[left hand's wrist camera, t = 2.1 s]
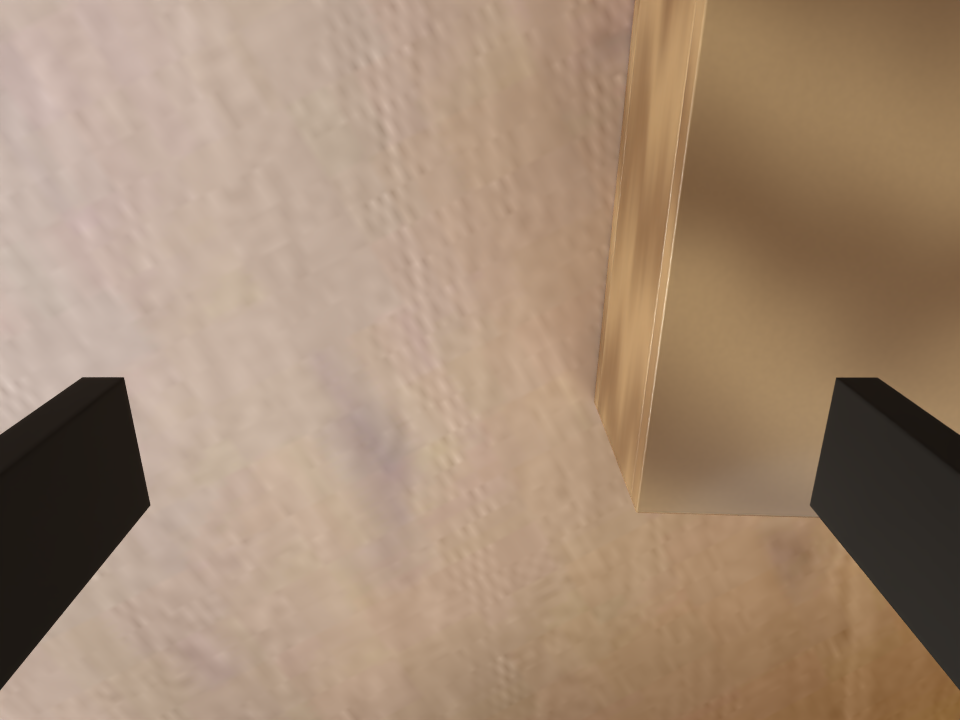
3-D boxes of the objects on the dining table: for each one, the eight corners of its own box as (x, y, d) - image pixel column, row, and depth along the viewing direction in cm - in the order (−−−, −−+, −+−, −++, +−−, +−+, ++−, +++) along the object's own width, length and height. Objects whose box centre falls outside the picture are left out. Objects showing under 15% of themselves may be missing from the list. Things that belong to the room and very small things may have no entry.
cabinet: (644, -92, 27) (731, -195, 17) (928, -82, 27) (1165, -178, 18) (593, 402, 34) (635, 513, 25) (814, 408, 35) (937, 521, 25)
